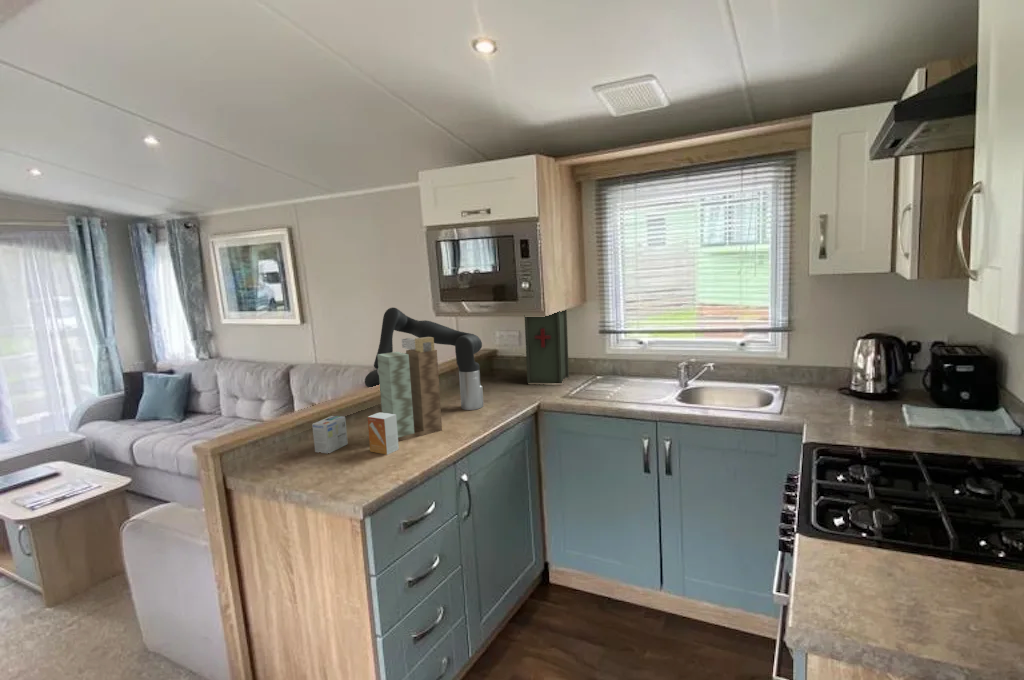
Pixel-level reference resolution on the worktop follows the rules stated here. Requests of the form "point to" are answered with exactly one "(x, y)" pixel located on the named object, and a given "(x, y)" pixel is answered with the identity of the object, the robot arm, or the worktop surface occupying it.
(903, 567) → the worktop surface
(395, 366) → the green brown tall block
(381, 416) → the small box
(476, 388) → the robot arm
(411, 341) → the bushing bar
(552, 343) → the first aid box
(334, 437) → the light bulb box
